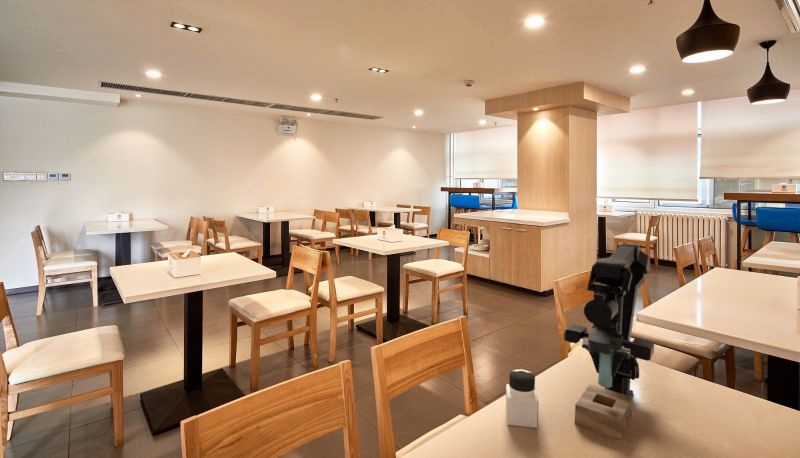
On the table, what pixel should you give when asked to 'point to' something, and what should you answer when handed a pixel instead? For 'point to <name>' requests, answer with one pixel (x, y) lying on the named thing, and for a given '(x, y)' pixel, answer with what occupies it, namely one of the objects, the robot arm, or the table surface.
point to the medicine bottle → (521, 399)
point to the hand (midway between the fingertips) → (605, 374)
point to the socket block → (603, 411)
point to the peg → (605, 369)
